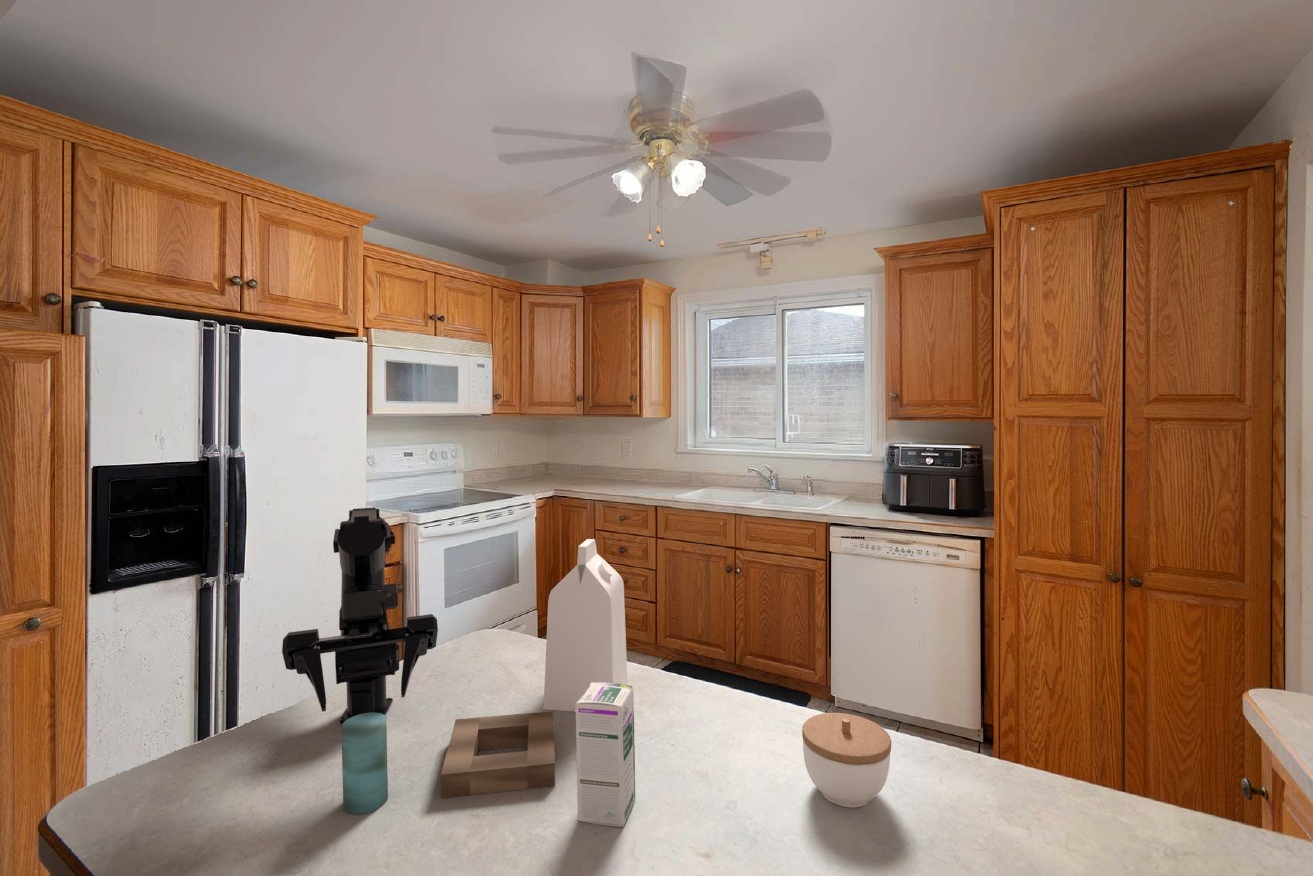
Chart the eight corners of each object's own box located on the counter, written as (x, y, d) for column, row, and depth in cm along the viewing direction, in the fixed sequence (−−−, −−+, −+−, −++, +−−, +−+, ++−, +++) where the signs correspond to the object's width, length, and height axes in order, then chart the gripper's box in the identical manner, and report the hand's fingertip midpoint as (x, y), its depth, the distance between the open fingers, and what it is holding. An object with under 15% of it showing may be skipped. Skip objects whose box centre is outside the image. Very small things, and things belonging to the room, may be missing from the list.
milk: (564, 677, 112) (563, 534, 111) (627, 681, 111) (627, 536, 110) (543, 709, 100) (542, 549, 99) (613, 714, 99) (613, 552, 98)
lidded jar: (889, 777, 82) (890, 707, 82) (891, 829, 72) (893, 749, 71) (805, 762, 86) (806, 695, 85) (796, 809, 75) (797, 733, 75)
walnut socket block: (456, 739, 91) (455, 719, 91) (552, 730, 94) (552, 711, 94) (441, 798, 77) (440, 774, 77) (555, 785, 80) (554, 763, 80)
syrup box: (624, 829, 72) (624, 705, 71) (575, 822, 73) (574, 701, 72) (635, 798, 77) (635, 684, 77) (590, 792, 79) (589, 680, 78)
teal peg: (350, 791, 79) (348, 714, 78) (392, 787, 80) (390, 710, 79) (337, 817, 74) (335, 734, 73) (382, 812, 75) (380, 730, 74)
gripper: (281, 571, 80) (271, 691, 70) (435, 557, 88) (445, 663, 78) (290, 614, 87) (282, 727, 78) (431, 597, 95) (439, 698, 86)
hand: (364, 703), depth 80 cm, fingers open, 9 cm apart
